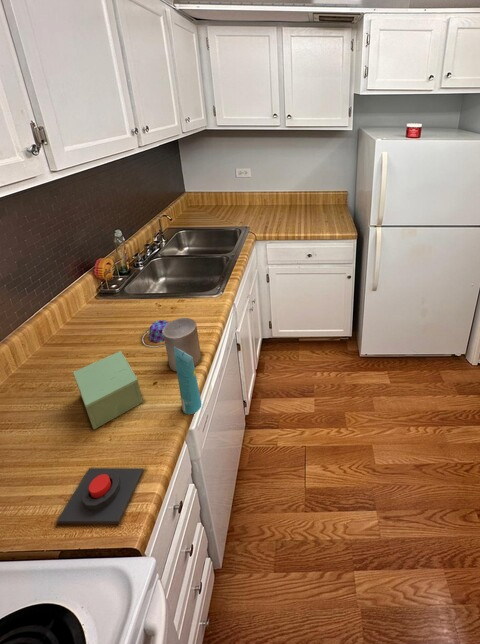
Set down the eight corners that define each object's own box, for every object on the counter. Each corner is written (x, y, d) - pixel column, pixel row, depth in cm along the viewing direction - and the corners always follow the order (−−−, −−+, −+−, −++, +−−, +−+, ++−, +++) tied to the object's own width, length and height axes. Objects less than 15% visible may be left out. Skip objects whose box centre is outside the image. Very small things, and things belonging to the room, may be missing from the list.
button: (86, 498, 67) (84, 492, 66) (97, 479, 70) (95, 474, 70) (104, 498, 67) (102, 492, 66) (114, 479, 70) (112, 474, 70)
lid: (138, 381, 87) (137, 379, 87) (86, 408, 80) (85, 405, 80) (121, 352, 97) (121, 350, 97) (73, 374, 90) (72, 371, 89)
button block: (58, 526, 65) (53, 515, 64) (91, 473, 74) (87, 462, 73) (119, 526, 65) (116, 515, 64) (144, 473, 74) (141, 462, 73)
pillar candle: (198, 348, 112) (193, 310, 106) (204, 367, 104) (198, 328, 98) (167, 357, 108) (160, 319, 102) (170, 378, 100) (162, 338, 94)
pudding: (183, 339, 116) (181, 327, 114) (146, 353, 109) (143, 340, 107) (175, 322, 125) (173, 310, 123) (140, 333, 119) (137, 321, 117)
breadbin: (143, 404, 91) (137, 379, 88) (94, 431, 84) (85, 406, 80) (127, 376, 100) (121, 352, 97) (82, 398, 93) (73, 374, 90)
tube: (208, 406, 91) (200, 351, 84) (195, 421, 87) (185, 363, 80) (189, 396, 94) (179, 341, 87) (175, 409, 90) (164, 353, 83)
